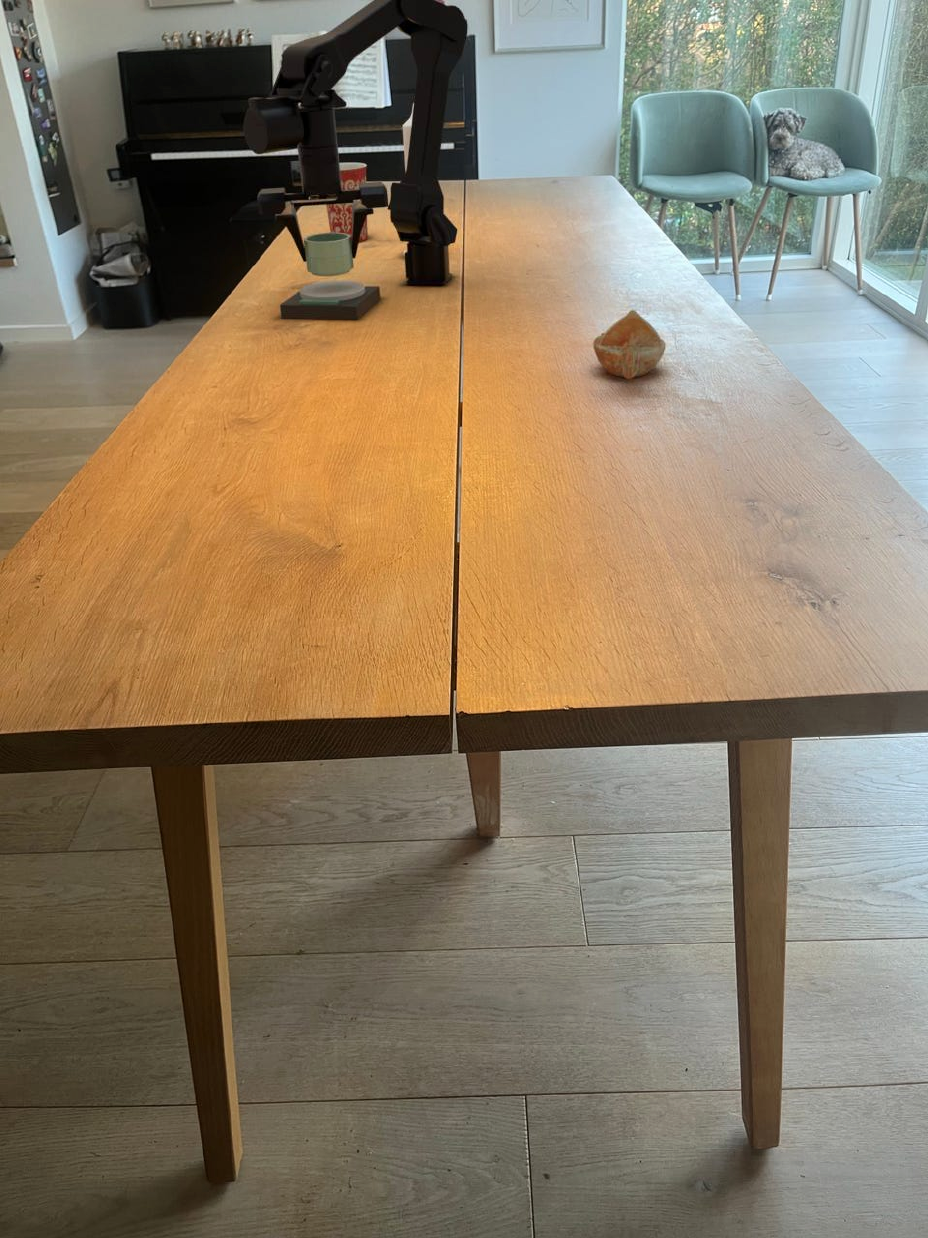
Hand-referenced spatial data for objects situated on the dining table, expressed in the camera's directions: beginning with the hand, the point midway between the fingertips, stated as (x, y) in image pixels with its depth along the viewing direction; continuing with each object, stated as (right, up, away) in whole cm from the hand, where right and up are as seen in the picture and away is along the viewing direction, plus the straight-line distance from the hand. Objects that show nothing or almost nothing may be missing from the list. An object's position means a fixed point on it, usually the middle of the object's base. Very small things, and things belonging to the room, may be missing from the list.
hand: (329, 259), depth 149 cm
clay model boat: (+41, -24, -27) cm, 54 cm away
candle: (+13, +12, +32) cm, 37 cm away
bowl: (0, -2, +1) cm, 2 cm away
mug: (-2, +22, +49) cm, 54 cm away
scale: (0, -7, +3) cm, 7 cm away
